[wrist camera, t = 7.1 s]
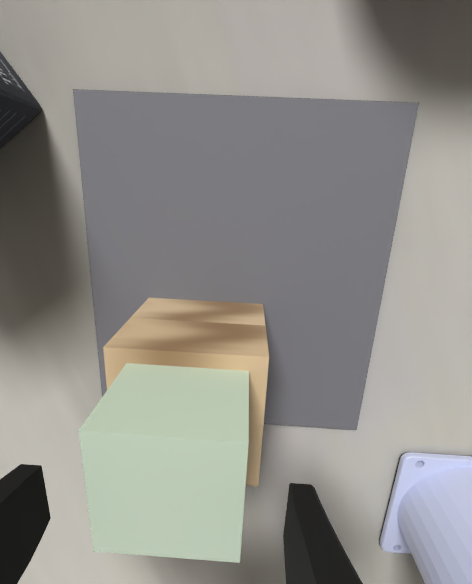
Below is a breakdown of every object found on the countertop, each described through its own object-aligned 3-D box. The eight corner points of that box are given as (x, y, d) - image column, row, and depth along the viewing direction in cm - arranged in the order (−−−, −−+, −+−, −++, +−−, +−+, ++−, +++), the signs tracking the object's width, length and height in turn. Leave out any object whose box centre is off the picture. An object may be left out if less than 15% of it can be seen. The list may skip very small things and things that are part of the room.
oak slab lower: (263, 303, 17) (265, 325, 14) (255, 401, 19) (256, 437, 16) (148, 297, 17) (130, 317, 14) (152, 395, 19) (137, 428, 16)
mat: (414, 105, 14) (418, 102, 14) (354, 425, 19) (356, 429, 19) (77, 91, 15) (72, 89, 14) (106, 409, 20) (103, 413, 19)
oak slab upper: (265, 325, 14) (269, 356, 12) (257, 437, 16) (258, 486, 13) (130, 317, 14) (103, 347, 12) (137, 428, 16) (114, 476, 14)
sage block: (248, 370, 12) (248, 442, 8) (242, 468, 13) (239, 562, 10) (126, 363, 12) (78, 430, 9) (132, 460, 13) (93, 551, 10)
